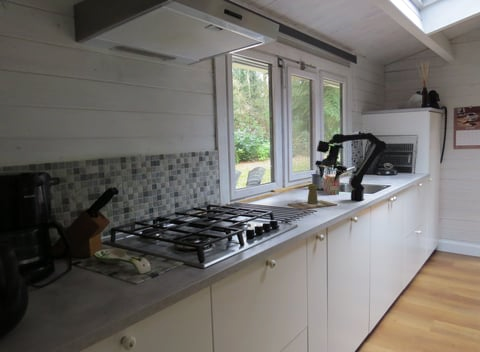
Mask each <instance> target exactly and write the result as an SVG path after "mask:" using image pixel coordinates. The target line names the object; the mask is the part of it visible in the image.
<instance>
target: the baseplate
mask: <svg viewBox="0 0 480 352" xmlns="http://www.w3.org/2000/svg"><path fill="white" fill-rule="evenodd" d="M317 200H318V199H317ZM287 206H289V207H292V208H296V209H299V210H302V211H303V210H311V209H312V210H313V209H318V208H319V209H320V208H327V207H336V206H338V203H334V202H330V201H327V200H323V199H322V200H321V199H319V200H318V204H316V205H311V204H307V201H301V202H300V201H299V202H293V203H287Z"/></svg>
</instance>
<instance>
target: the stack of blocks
mask: <svg viewBox="0 0 480 352" xmlns="http://www.w3.org/2000/svg"><path fill="white" fill-rule="evenodd" d="M335 175H336V173H335V174H333V173H332V174H325V176H323V177H322V190H323V191H324V192H325V193H327V194H328V195H329V196H330V195H333V196H334V195H338V196H339V195H340V180H341V178H340V176H339V177H338V179H337V180H336V181H335V182H334V179H335Z"/></svg>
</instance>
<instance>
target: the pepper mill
mask: <svg viewBox="0 0 480 352" xmlns="http://www.w3.org/2000/svg"><path fill="white" fill-rule="evenodd" d="M307 189H308V195H307V201H306V202H307V204H311V205H316V204H318V193H317V190H318V185H317V184H315V183H314V184H313V183H310V184H308V185H307Z"/></svg>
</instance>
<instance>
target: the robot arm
mask: <svg viewBox="0 0 480 352" xmlns="http://www.w3.org/2000/svg"><path fill="white" fill-rule="evenodd" d="M363 140H367V141H368V142H369V143H370V144H371V145H372V147H371V151H370V152H369V155H368V156H367V158H365V160H364V161H363V163H362V165H361V166H360V167H359V169H358V171H357V172H356V173H352V174H351V176H350V177H349V178H348V179H349V180H348V184H349V186H351V188H352V189H351V192H350V201H357V202H362V201H364V200H365V198H364V194H365V187H364V186H363V185H362V182H363V180H364V176H365V175H366V173H367V172H368V171H369V169H370V167H371V165H372V164H373V163H374V161H375V160H376V158H377V157H378V156H379V155H381V153H383V152H384V151H385V149H386V148H387V143H386V142H385V140H380V139H379V138H378V137H376V136H375V135H374V134H373V133H372V132H366V133H355V134H343V133H335V134H334V133H333V135H332V136H331V138H330V139H329V140H328V141H324V140H319V141H318V143H317V146H316V152H320V153H324V154H326V153H328V154H327V156H326V157H325V158H323V159H322V160H315V163H314V165H315V166H316V167H317V168H318V169H319V175H320V178H321V179H323V177H324V174H325V169H326V167H328V168H333V169H336V170H335V179H334V182H335V181H336V180H337V179H338V177H340V176H341V175H342V174H343V173H345V172H347V171H348V167H347V166H345V165H341V164H339V165H338V159H339V155H340V149H344V146H343V144H342V143H345V142H350V141H352V142H353V141H363Z"/></svg>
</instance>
